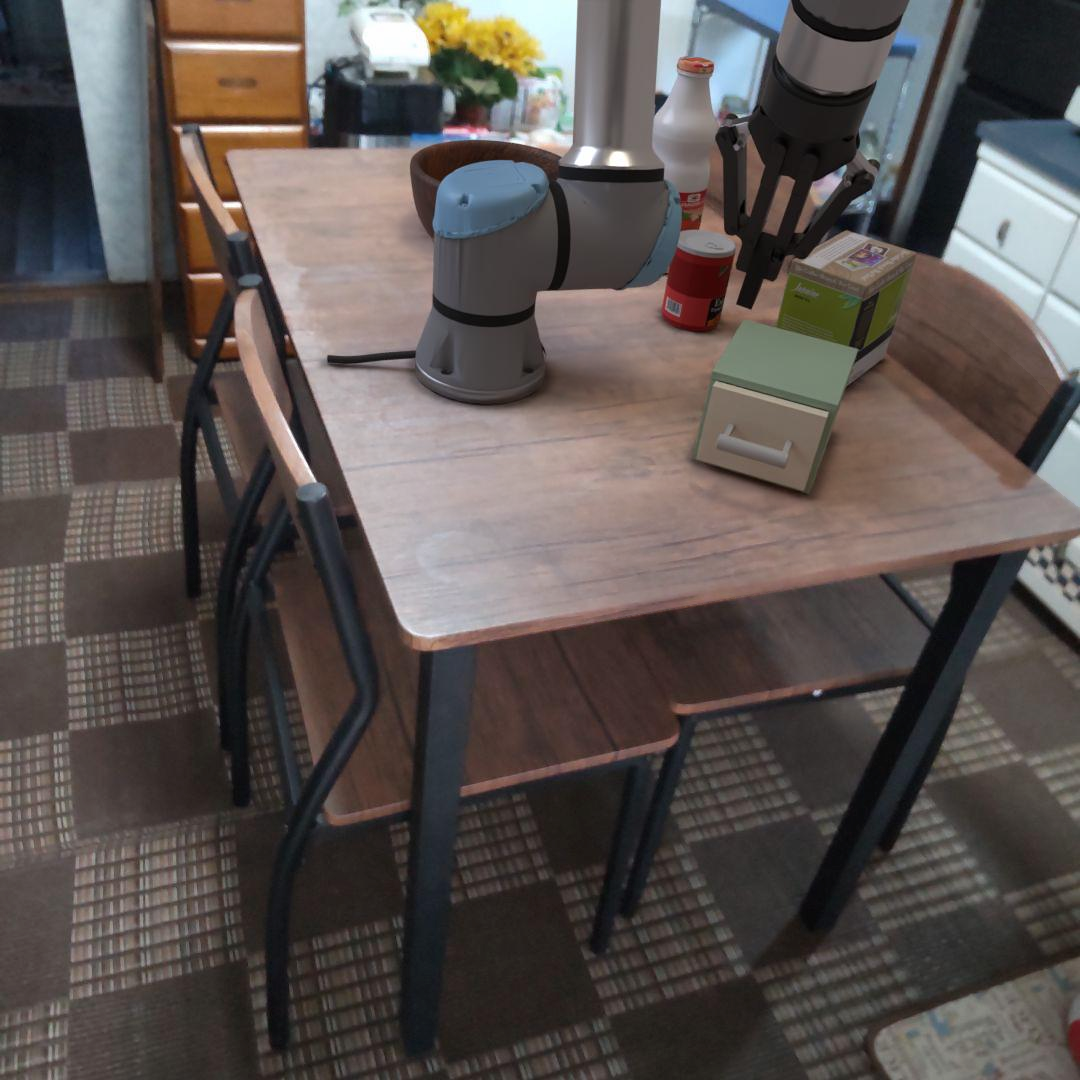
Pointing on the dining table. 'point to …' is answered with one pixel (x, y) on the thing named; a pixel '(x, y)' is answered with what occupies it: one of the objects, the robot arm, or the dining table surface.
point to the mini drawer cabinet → (785, 375)
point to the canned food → (698, 280)
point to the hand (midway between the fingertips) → (748, 296)
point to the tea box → (848, 295)
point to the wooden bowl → (453, 155)
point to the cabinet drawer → (761, 435)
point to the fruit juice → (687, 137)
